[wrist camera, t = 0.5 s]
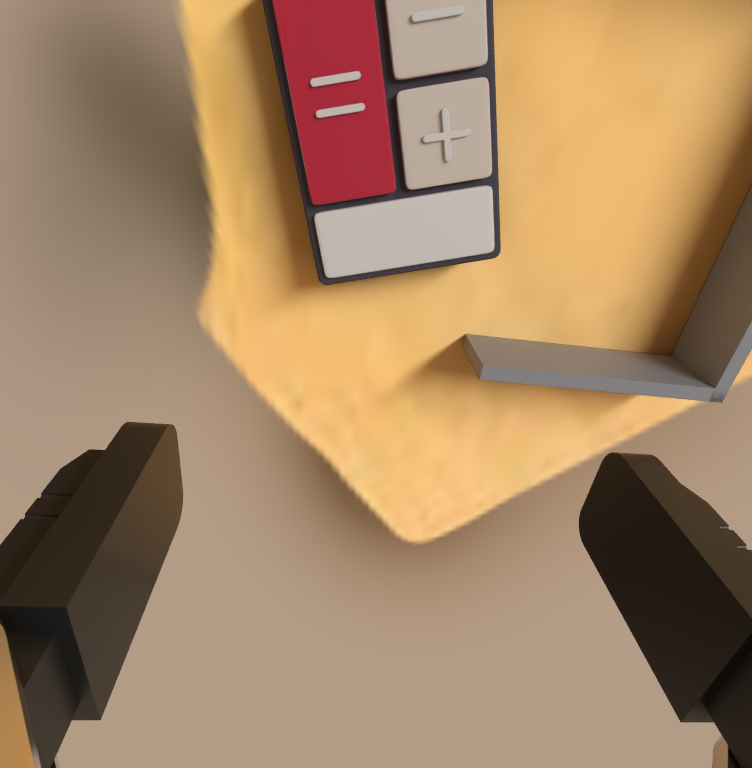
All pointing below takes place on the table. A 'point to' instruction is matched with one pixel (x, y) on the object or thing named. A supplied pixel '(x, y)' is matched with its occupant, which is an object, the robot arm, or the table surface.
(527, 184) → the table surface
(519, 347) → the box
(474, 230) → the calculator
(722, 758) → the robot arm
